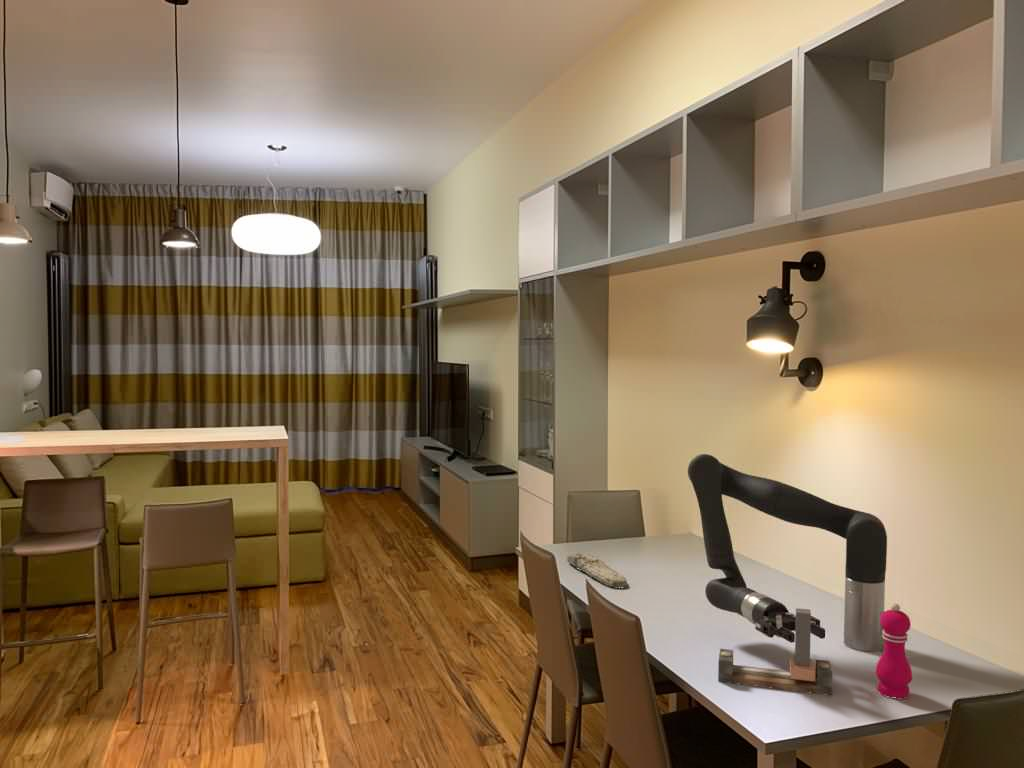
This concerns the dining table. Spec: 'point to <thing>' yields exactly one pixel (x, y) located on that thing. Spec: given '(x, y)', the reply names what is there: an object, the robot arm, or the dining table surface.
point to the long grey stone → (597, 569)
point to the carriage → (802, 648)
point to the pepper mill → (894, 654)
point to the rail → (774, 676)
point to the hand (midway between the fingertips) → (808, 636)
